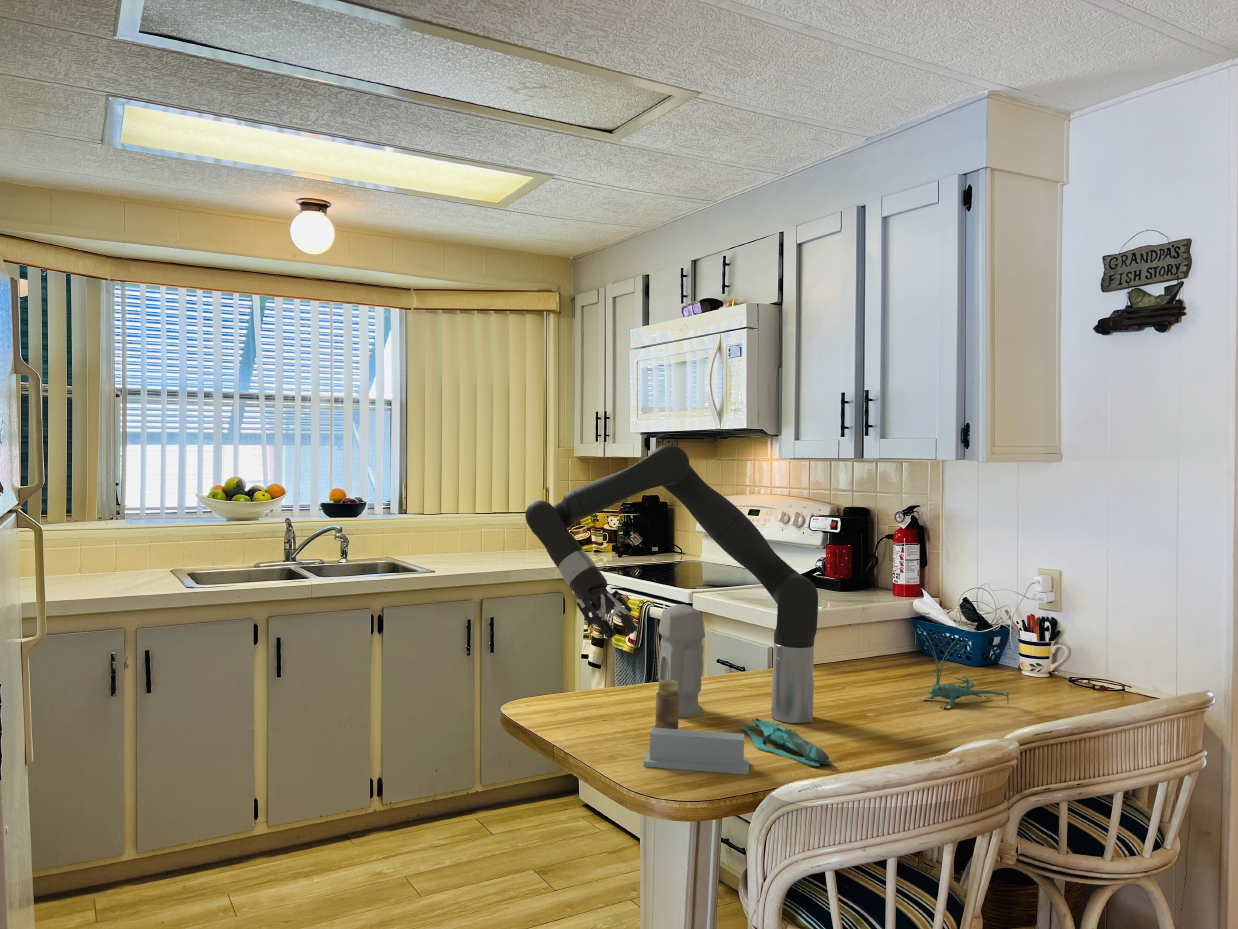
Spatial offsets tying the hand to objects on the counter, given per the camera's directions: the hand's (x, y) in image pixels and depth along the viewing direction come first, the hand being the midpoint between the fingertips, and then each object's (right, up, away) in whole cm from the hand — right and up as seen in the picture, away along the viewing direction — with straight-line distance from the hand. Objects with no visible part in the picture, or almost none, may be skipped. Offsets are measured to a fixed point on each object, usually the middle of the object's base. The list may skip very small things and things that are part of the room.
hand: (623, 634), depth 196 cm
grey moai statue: (+13, -22, +18) cm, 31 cm away
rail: (+14, -22, -19) cm, 32 cm away
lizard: (+82, -24, +32) cm, 91 cm away
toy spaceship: (+33, -23, -7) cm, 41 cm away
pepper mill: (+9, -22, -5) cm, 24 cm away
